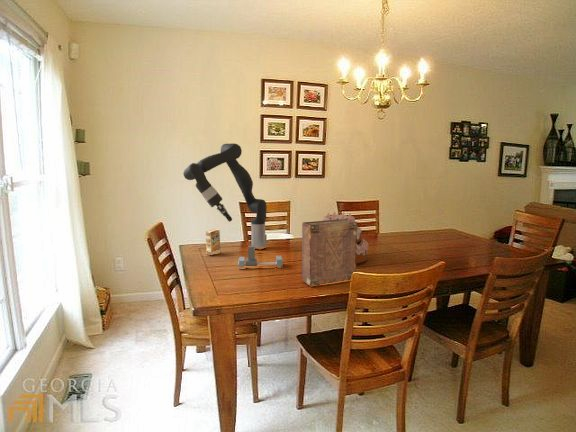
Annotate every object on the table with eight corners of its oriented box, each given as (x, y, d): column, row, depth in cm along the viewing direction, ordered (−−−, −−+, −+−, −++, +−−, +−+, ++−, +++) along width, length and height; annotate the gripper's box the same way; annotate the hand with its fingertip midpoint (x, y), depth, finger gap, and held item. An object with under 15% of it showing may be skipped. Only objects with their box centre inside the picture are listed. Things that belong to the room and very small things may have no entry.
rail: (238, 269, 201) (237, 261, 201) (238, 265, 209) (238, 256, 208) (283, 268, 204) (283, 259, 203) (282, 264, 212) (282, 255, 211)
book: (345, 275, 192) (347, 218, 187) (355, 280, 184) (357, 221, 179) (301, 282, 182) (302, 222, 177) (310, 288, 174) (310, 225, 169)
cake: (367, 269, 203) (369, 219, 198) (305, 265, 210) (305, 217, 205) (367, 252, 237) (369, 209, 232) (313, 249, 244) (313, 208, 239)
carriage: (246, 266, 203) (245, 247, 201) (246, 263, 208) (245, 245, 207) (257, 266, 203) (256, 247, 201) (256, 263, 209) (256, 244, 207)
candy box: (211, 256, 228) (210, 232, 225) (206, 255, 230) (205, 231, 227) (220, 253, 235) (220, 229, 233) (215, 252, 238) (214, 228, 235)
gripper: (217, 192, 191) (236, 216, 194) (217, 192, 205) (235, 215, 208) (205, 201, 191) (225, 225, 193) (206, 200, 205) (224, 223, 207)
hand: (230, 220), depth 201 cm, fingers open, 8 cm apart
